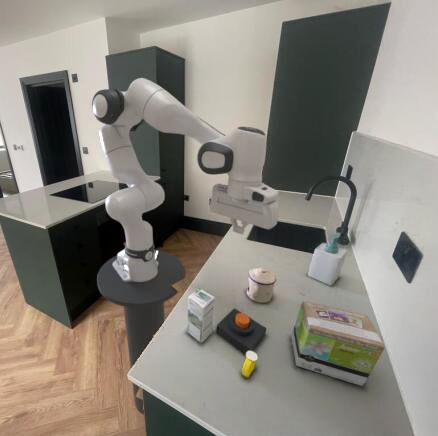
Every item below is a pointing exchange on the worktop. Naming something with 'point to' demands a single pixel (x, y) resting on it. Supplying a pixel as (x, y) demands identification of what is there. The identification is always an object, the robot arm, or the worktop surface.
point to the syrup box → (200, 314)
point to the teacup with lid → (260, 285)
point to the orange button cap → (242, 320)
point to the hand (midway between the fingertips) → (238, 232)
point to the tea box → (336, 342)
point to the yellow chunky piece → (249, 363)
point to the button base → (240, 332)
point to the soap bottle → (327, 261)
